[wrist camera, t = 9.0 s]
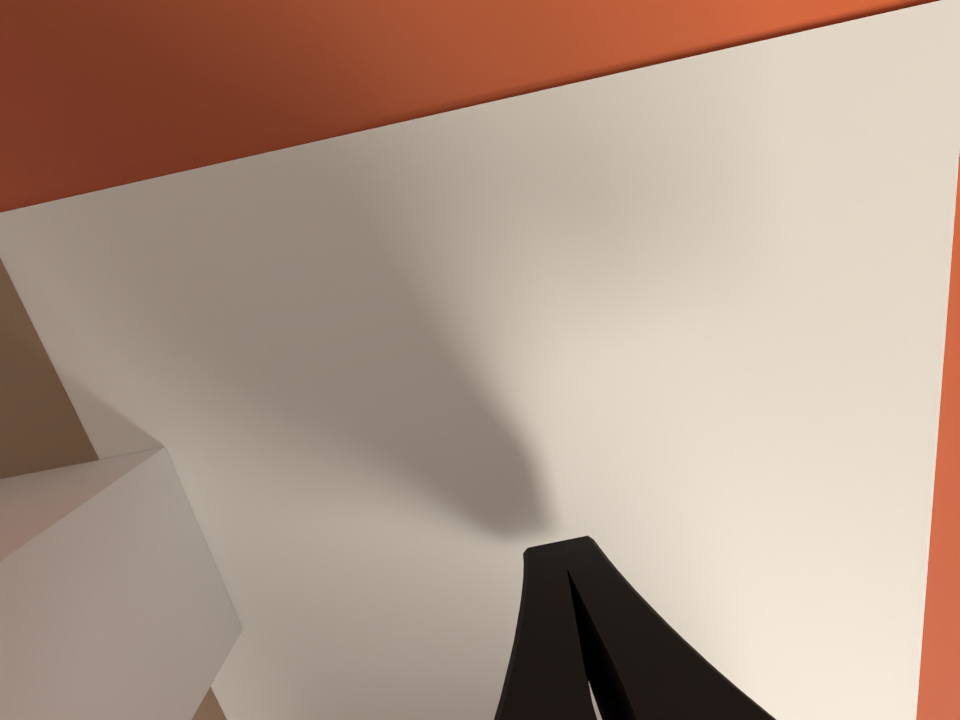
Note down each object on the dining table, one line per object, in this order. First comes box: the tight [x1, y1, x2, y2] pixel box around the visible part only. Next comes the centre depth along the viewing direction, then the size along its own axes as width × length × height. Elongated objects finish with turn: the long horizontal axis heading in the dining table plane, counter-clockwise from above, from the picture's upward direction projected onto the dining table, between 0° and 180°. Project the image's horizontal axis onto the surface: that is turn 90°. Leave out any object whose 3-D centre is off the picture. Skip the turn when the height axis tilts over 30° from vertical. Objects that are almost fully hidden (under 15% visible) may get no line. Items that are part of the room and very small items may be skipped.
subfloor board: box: [0, 0, 960, 720], centre depth 11 cm, size 18×28×1 cm, turn 102°
